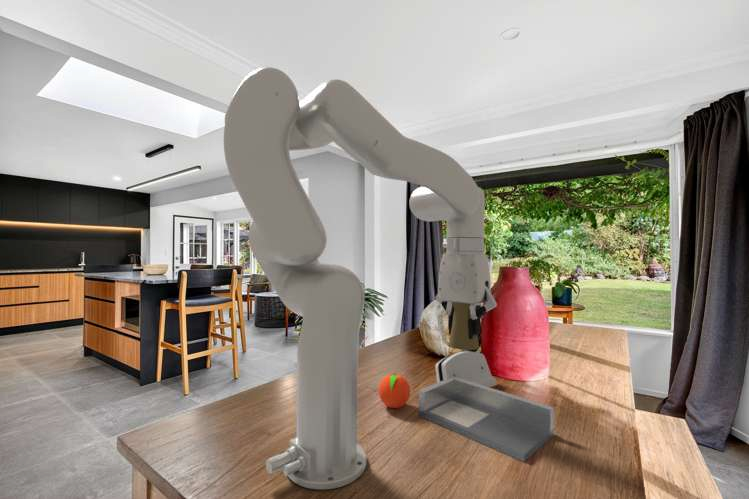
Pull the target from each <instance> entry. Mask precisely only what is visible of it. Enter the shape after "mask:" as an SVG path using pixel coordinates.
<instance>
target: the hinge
mask: <svg viewBox="0 0 749 499" xmlns="http://www.w3.org/2000/svg"><path fill="white" fill-rule="evenodd" d="M434 369H435V375H436V376H435V377H436V383H438V382H440V381H443V380H445V379H448V378H450V377H453V376H454V377H457V378H460V379H463V380H467V381H470V382H473V383H476V384H480V385H483V386H486V387H491V386H494V385H497V386H498V383H497V379H496V378H495V377H494V376H492V373H491V370H490V368H489V365H488V362H487V359H486V357H485V355H484V354H483V353H481V352H477V351H469V350H466V351H460V352H455V353H452V354H449V355H446V357H444V358H441V359H440V360H439V361H438V362H437V363H436V364H435V368H434ZM494 387H495V386H494ZM491 388H492V387H491Z"/></svg>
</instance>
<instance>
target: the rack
mask: <svg viewBox="0 0 749 499" xmlns="http://www.w3.org/2000/svg"><path fill="white" fill-rule="evenodd" d="M417 407H418V408H417V409H418V410H417V411H418V412H417V414H418V415H417V416H419V417H421V418H423V419H426V420H427V421H430V422H432V423H435V424H436V425H439V426H441V427H444V428H445V429H448V430H450V431H453V432H454V433H457V434H459V435H462V436H464V437H466V438H468V439H470V440H473V441H475V442H477V443H480V444H482V445H485V446H487V447H488V448H491V449H494V450H495V451H498V452H501V453H502V454H505V455H507V456H510V457H512V458H513V459H516V460H518V461H520V462H523V463H525V462H526V461H527V460H529V459H530V457H531V456H532V455H533V454H535V453H536V452H537V451H538V450H539V449H540V448H541V447H543V446H544V444H545V443H546V442H548V441H549V440H550V439H551V438H552V437H553V436H554V435H555V428H554V406H550V405H547V404H544V403H541V402H537V401H534V400H531V399H528V398H524V397H521V396H518V395H515V394H511V393H507V392H506V391H502V390H499V389H496V388H493V387H491V388H489V387H486V386H483V385H480V384H476V383H473V382H470V381H467V380H463V379H460V378H457V377H454V376H453V377H450V378H448V379H445V380H443V381H440V382H438V383H437V382H435V383H433V384H431V385H429V386H426V387H423V388H420V389H418V405H417Z"/></svg>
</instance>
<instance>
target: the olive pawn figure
mask: <svg viewBox="0 0 749 499" xmlns="http://www.w3.org/2000/svg"><path fill="white" fill-rule="evenodd" d="M452 306H453V307H454V314H453V321H452V328H451V335H450V336H449V342H448V347H451V348H452V349H455V350H460V351H475V350H478V349H480V344H479V337H477V335H474V336H473V339H470V338H469V329H468V320H469V319H471V314H470V304H464V303H459V302H452ZM476 307H477V306H476Z"/></svg>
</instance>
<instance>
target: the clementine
mask: <svg viewBox="0 0 749 499" xmlns="http://www.w3.org/2000/svg"><path fill="white" fill-rule="evenodd" d="M378 395H379V398H380V400H381V402H382V403H383V404H384V405H385V406H387V407H388V408H392V409H399V408H401V407H403V406H405V405H406V404H407V403H408V401H409V399H410V396H411V386H410V383H409V382H408V380H407V379H406V378H405V377H404V376H403V375H401V374H398V373H391V374H390V373H389V374H388V375H387V376H384V378H382V380H381V382H380V384H379V387H378Z"/></svg>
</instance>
